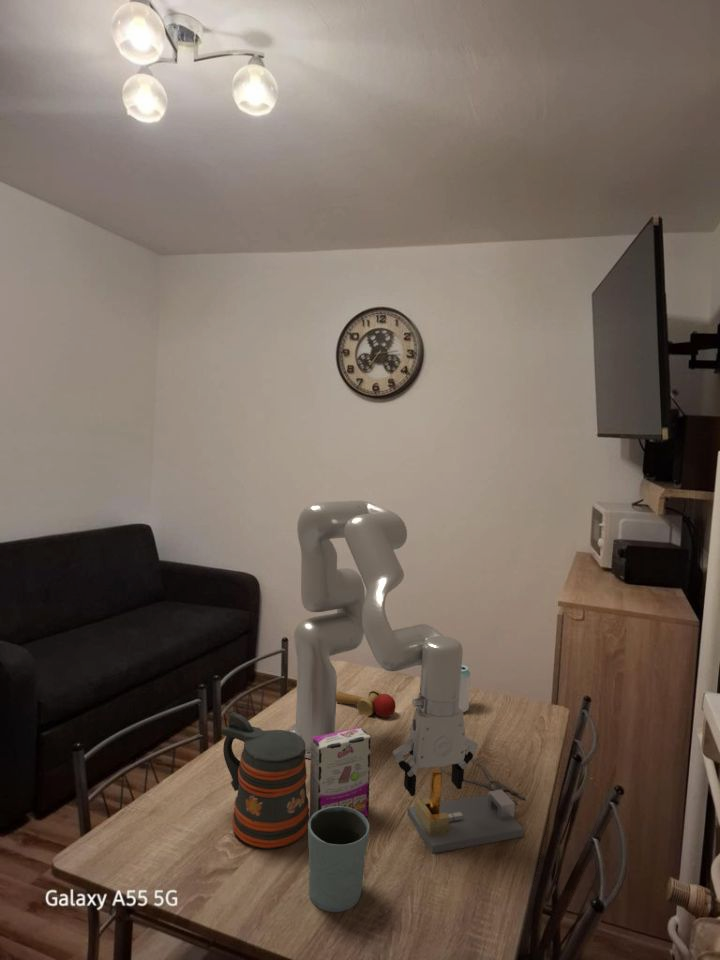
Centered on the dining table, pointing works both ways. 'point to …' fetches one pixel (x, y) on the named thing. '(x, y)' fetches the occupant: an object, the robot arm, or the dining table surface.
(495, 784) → the pliers
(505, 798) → the block
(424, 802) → the bracket
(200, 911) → the dining table surface
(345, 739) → the candy bar box
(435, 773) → the amber lever
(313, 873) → the grey green cup
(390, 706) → the kendama
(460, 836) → the tie down board
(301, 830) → the beer stein
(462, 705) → the can
